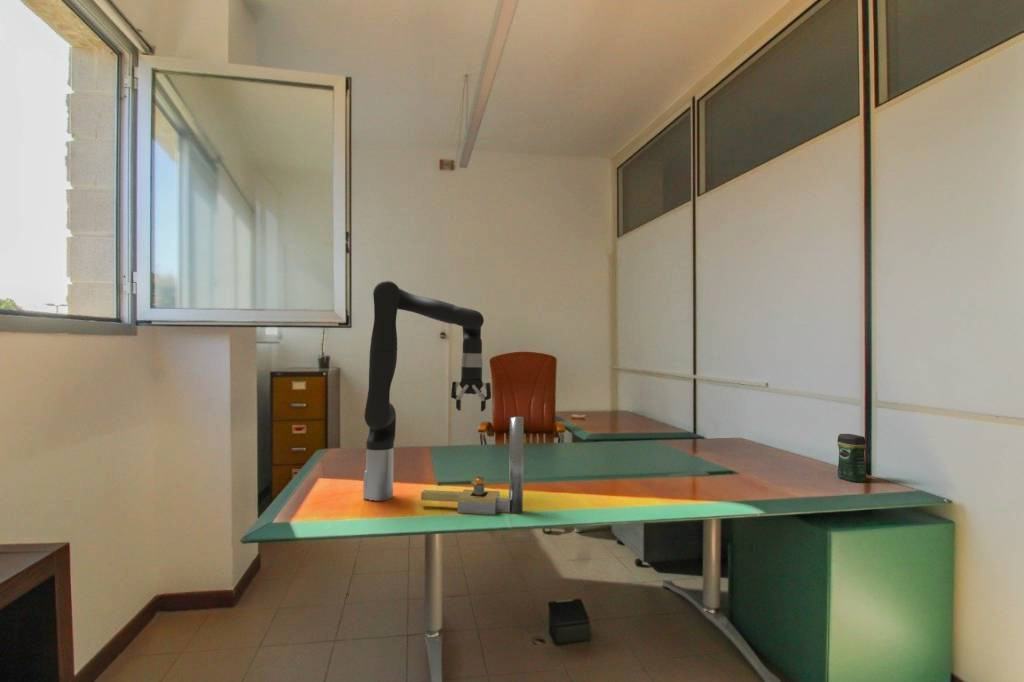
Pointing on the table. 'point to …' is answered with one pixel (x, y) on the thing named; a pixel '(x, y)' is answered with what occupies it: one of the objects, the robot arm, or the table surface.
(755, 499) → the table surface
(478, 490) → the wedge pin
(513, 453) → the grey l-shaped piece
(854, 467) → the coffee jar
